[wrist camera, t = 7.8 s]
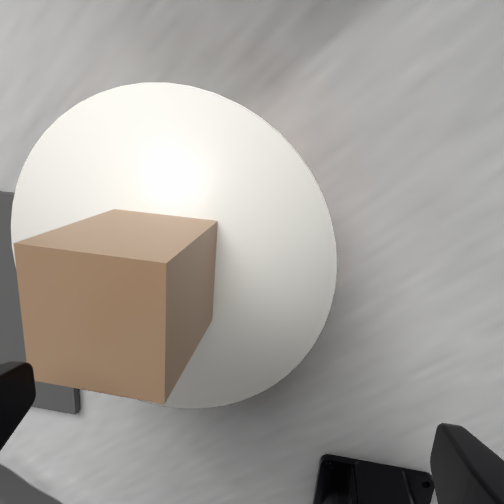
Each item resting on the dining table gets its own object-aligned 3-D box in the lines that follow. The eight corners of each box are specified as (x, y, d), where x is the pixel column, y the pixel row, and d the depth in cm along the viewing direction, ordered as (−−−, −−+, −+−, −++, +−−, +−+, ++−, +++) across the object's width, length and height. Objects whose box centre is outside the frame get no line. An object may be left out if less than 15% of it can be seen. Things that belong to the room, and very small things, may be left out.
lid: (312, 419, 16) (312, 561, 11) (39, 371, 18) (-83, 473, 12) (362, 98, 12) (400, 65, 7) (9, 74, 14) (-185, 31, 9)
